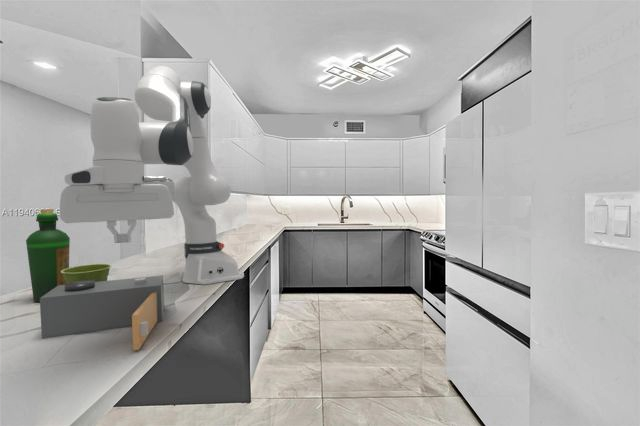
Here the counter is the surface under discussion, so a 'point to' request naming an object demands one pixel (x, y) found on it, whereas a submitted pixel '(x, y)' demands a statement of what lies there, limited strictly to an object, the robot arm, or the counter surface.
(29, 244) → the bottle
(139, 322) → the side door
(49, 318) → the grey cabinet
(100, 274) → the plant pot
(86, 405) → the counter surface
